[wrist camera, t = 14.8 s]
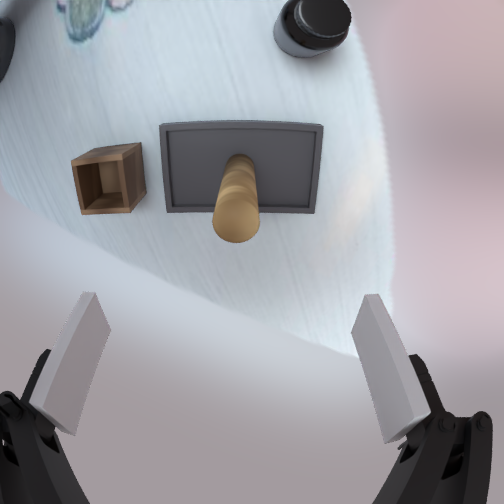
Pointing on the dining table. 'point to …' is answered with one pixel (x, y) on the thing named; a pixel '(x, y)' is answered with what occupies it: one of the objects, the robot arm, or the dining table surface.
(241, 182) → the dowel
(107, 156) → the box
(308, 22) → the supplement bottle
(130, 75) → the dining table surface
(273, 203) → the tray
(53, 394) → the robot arm
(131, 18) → the dining table surface
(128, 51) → the dining table surface
